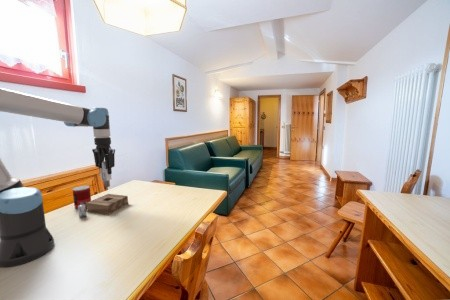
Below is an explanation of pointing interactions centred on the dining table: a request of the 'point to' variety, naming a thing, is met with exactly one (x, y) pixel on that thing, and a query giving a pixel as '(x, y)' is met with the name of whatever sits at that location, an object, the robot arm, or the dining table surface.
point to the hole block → (107, 204)
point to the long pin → (106, 183)
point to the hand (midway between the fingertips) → (106, 179)
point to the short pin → (82, 211)
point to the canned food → (81, 195)
